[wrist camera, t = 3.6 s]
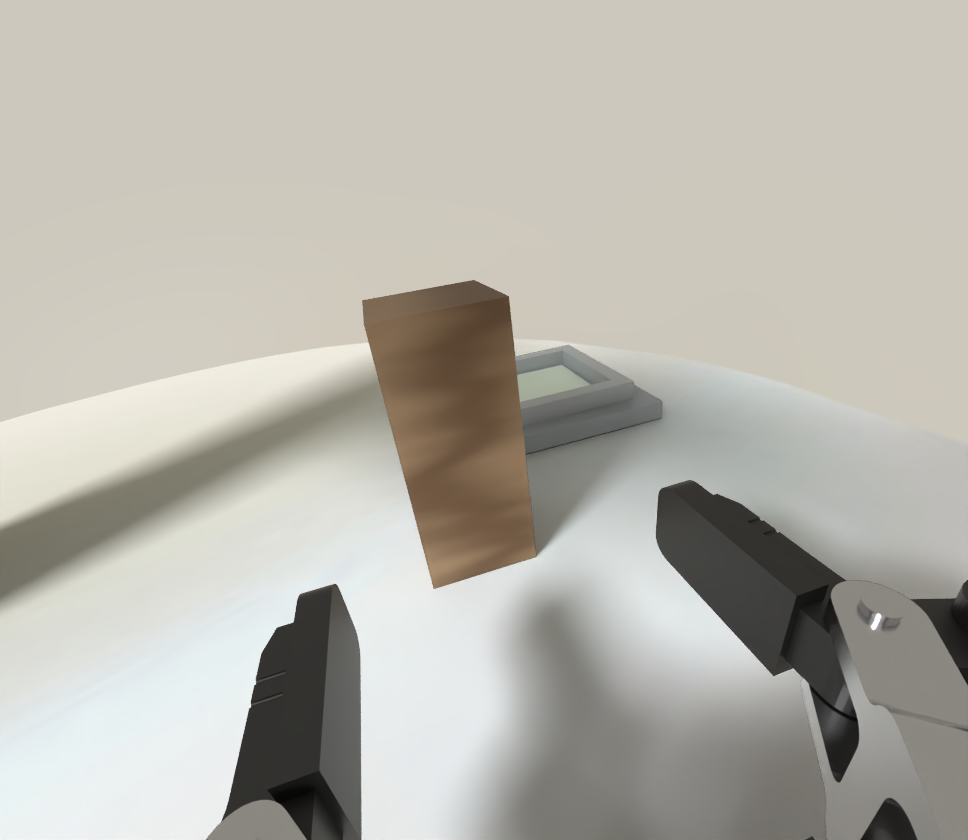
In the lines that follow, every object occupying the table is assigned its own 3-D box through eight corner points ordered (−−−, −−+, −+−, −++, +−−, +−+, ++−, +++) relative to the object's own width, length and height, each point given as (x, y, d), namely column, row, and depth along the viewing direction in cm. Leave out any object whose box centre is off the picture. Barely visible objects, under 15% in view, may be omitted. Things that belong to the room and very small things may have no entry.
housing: (416, 483, 24) (404, 434, 23) (398, 405, 35) (389, 369, 33) (661, 418, 27) (664, 371, 26) (576, 364, 38) (575, 329, 36)
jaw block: (433, 588, 17) (363, 324, 12) (419, 521, 21) (362, 300, 16) (536, 556, 18) (508, 296, 13) (504, 497, 22) (473, 280, 17)
